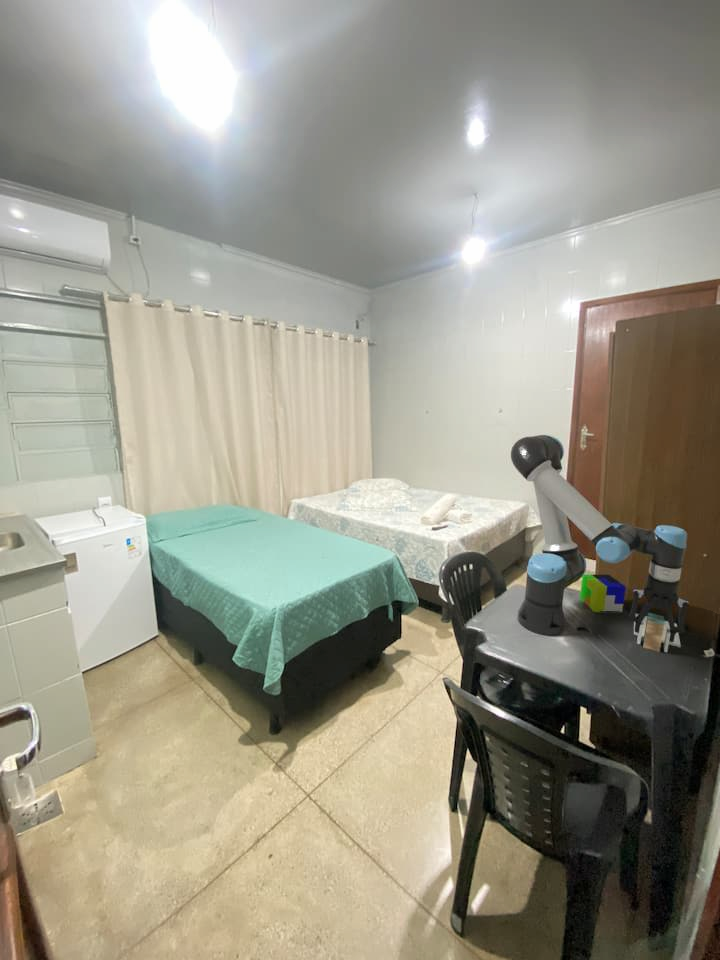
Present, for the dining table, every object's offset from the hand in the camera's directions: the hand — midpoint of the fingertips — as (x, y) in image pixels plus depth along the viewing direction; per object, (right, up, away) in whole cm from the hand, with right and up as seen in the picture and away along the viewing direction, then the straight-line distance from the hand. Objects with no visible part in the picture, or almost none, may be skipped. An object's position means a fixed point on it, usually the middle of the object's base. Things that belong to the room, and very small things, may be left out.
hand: (651, 645), depth 123 cm
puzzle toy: (-1, +5, +25) cm, 25 cm away
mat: (+8, +2, +9) cm, 12 cm away
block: (0, 0, 0) cm, 0 cm away
